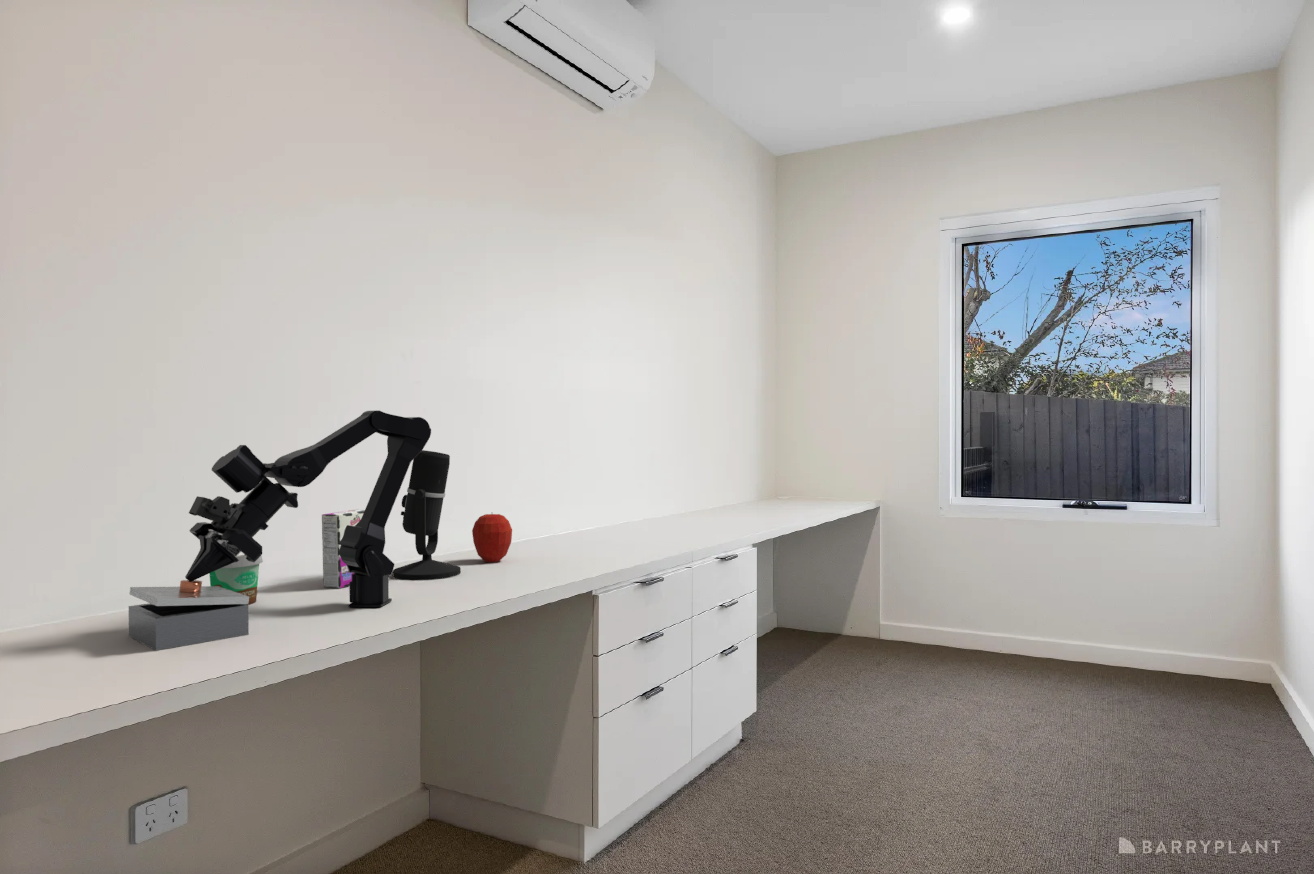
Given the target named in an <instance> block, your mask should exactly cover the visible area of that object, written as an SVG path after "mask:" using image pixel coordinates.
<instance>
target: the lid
mask: <svg viewBox="0 0 1314 874" xmlns="http://www.w3.org/2000/svg"><path fill="white" fill-rule="evenodd" d="M202 585H203V581H202V580H197V579H196V580H194V581H189V580H187V579H183V580H180V582H179V586H130V587H129V595H130V596H132V597H135V598H137V599H139V600H142V601H143V602H146V603H147V604H148V603H151V604H153V605H155V606H181V605H221V604H248V603H249V596H246V595H243V594H240V593H237V592H234V591H231V590H228V589H225V588H222V587H219V586H208V585H207V586H206V585H205V586H202Z"/></svg>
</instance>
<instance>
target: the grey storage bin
mask: <svg viewBox="0 0 1314 874" xmlns="http://www.w3.org/2000/svg"><path fill="white" fill-rule="evenodd" d="M249 626H250V624H249V605H247V604H221V605H181V606H155V605H153V604H151V603H148V602H147V603H143V604H133V605H128V637H130V638H132V639H134V640H136V641H137V642H140V643H141V644H143V645H145V646H147V647H148V648H151V649H152V650H154V651H156V652H157V651H162V650H167V649H174V648H179V647H184V646H191V645H196V644H202V643H207V642H212V641H219V640H225V639H230V638H236V637H242V636H247V635H249V629H250V627H249Z"/></svg>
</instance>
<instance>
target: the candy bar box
mask: <svg viewBox="0 0 1314 874" xmlns="http://www.w3.org/2000/svg"><path fill="white" fill-rule="evenodd" d="M364 511H365V509H364V508H363V509H359V508H357V509H351V510H350V509H349V510H343V511H337V512H335V511H334V512H330V513H324V514H321V535H322V536H321V539H322V540H321V541H322V543H321V545H322V582H323V585H322V586H323V588H327V589H342V588H347V587H349V583H350V582H351V581H352V574H354V573H353V572H352V573H351V572H349V570H348V567H347V565H346V564H345V563H344V562H343V561H342V559H341V557H340V555H339V550H340V546H341V545H338V543H339V542H340V541H341V539H342V538H343V535H344V531H345V528H346V526H347V525H350V526H355V525H356V524H357V523H358V522H359V521H360V520H361V518H362V516H363V514H364Z"/></svg>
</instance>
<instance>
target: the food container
mask: <svg viewBox="0 0 1314 874" xmlns="http://www.w3.org/2000/svg"><path fill="white" fill-rule="evenodd" d="M262 555H263V554H262ZM262 555H261V556H260V557H259V558H258V559H257V560H256V561H255V562H250V561H248V560H247V559H246V557H247V556H246V555H245V554H242V555H237V556H236V558H237V559H238V560H239V561H238V562H234V563H232V564H229V565H227V566H225V567H222V568H220V569H218V570H216V571H213V572H211V573H209V574H208V575H209V583H210V586H219V587H222V588H225V589H228V590H231V591H234V592H237V593H240V594H243V595H246V596H249V603H248V604H247V605H248V606H249V605H252V604H255V603H256V602H257V598H258V597H257V594H258V585H259V583H258V582H259V573H260V572H259V570H260V564H262V563H263V562H264V560H263V556H262Z"/></svg>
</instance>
